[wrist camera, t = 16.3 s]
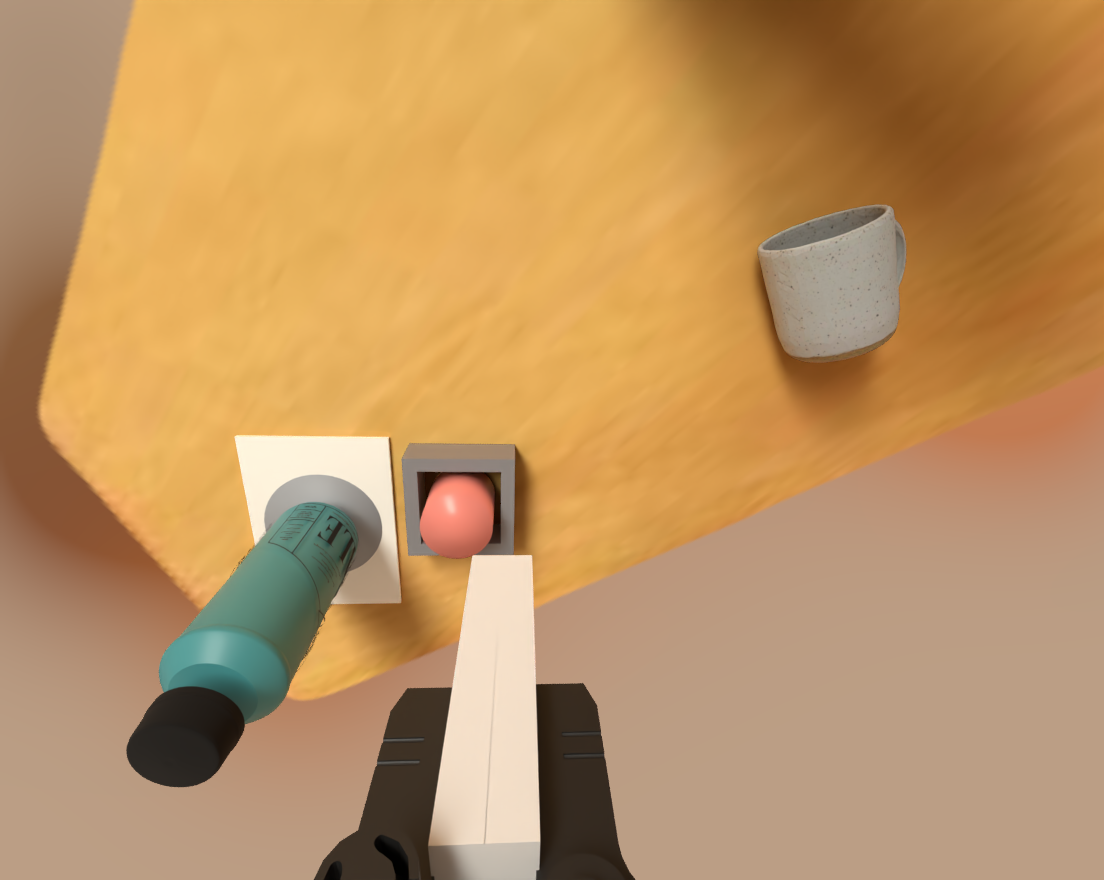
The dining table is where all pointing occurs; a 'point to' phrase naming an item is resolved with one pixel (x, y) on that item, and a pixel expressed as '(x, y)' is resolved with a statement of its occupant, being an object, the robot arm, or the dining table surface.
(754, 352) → the dining table surface
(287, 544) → the beverage bottle
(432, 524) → the button
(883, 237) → the ceramic mug
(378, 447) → the paper card
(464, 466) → the button base
